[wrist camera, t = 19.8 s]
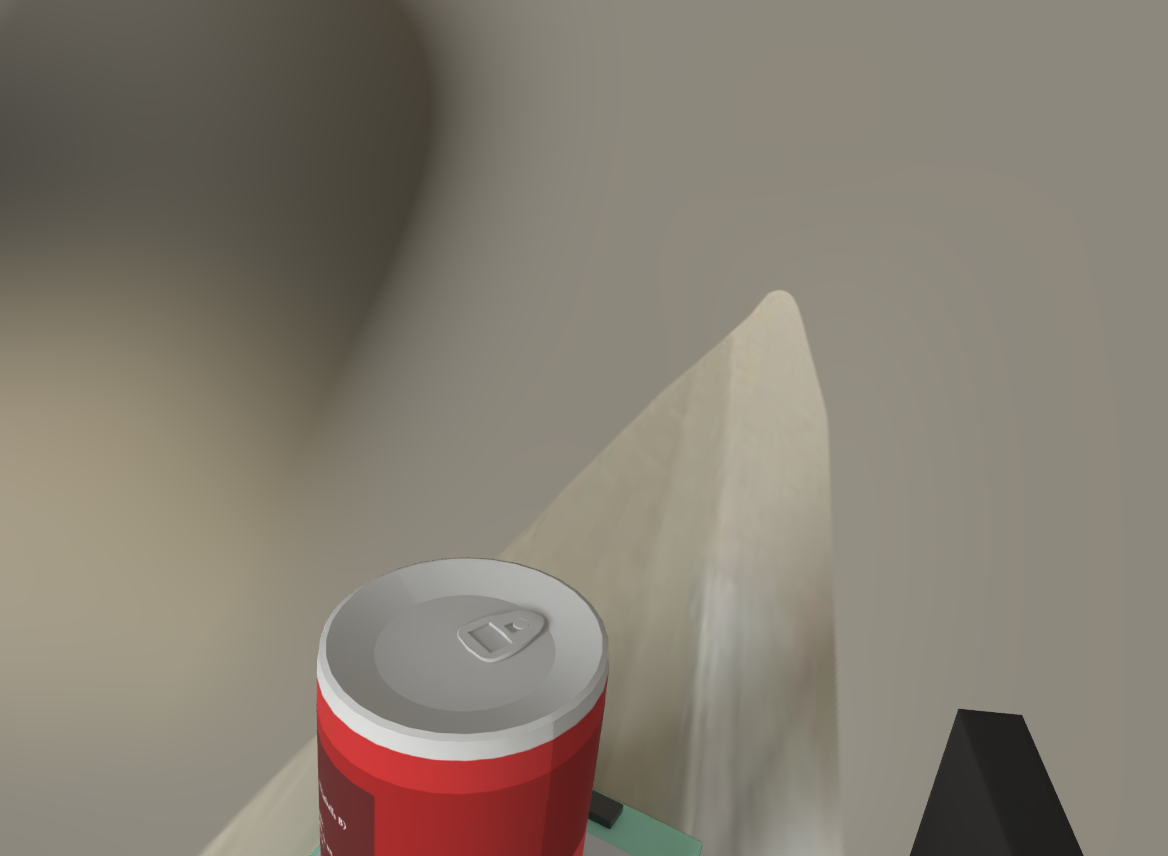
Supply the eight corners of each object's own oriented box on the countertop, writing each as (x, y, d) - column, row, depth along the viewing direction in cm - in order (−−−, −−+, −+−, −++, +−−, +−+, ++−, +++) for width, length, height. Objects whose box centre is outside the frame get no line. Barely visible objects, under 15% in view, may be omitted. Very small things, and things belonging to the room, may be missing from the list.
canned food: (619, 891, 36) (663, 625, 31) (463, 1085, 30) (485, 794, 25) (440, 779, 40) (453, 522, 35) (268, 931, 34) (253, 649, 29)
